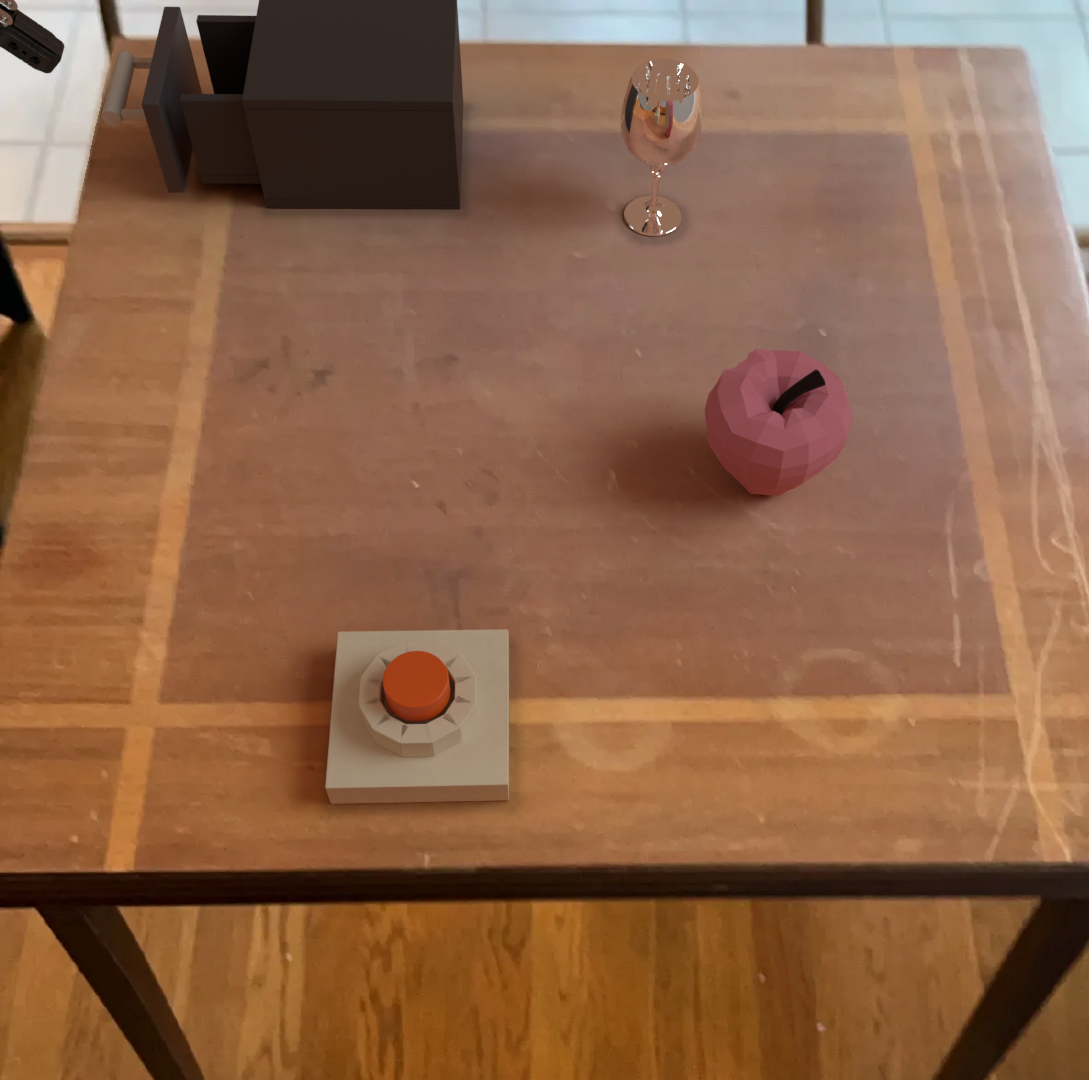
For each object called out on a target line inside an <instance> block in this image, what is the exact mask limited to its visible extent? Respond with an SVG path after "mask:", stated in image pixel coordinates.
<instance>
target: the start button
mask: <svg viewBox="0 0 1089 1080" xmlns="http://www.w3.org/2000/svg"><path fill="white" fill-rule="evenodd" d="M383 688H384V692H385V697H386V701H387V704H388V706H389V708H390V709H391V711H392V712H393V713H394V714H395V715H397V716H398V717H400V718H402V719H404V720H407V721H412V722H420V721H426V720H429V719H431V718H433V717H435V716H437V715H438V714H439V713H441V712H442V711H443V709H444V708H445V707H446V705H447V704H448V701H449V698H450V683H449V675H448V671H447V668H446V666H445V664H444V663H443V662H442V661H441V660H440V659H439V658H438V657H437V656H435V655H433V654H431V653H428V652H424V651H410V652H406V653H404V654H401V655H399V656H398V657H396V658H395V659H393V660H392V661H391V662H390V664H389V665H388V666H387V668H386V670H385V672H384V675H383Z"/></svg>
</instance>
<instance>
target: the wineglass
mask: <svg viewBox="0 0 1089 1080" xmlns="http://www.w3.org/2000/svg"><path fill="white" fill-rule="evenodd" d="M702 126H703V101H702V92H701V86H700V81H699V77H698V74H697V73H696V71H695V70H694V69H693V68H692V67H690V66H689V65H687V64H686V63H683V62H681V61H679V60H676V59H675V60H674V59H671V58H655V59H650V60H647V61H644V62H642V63H640V64H639V65H638V66H636V67H635V68H634V70H633V71H632V73H631V77H630V79H629V82H628V84H627V88H626V91H625V94H624V98H623V103H622V107H621V113H620V130H621V137H622V140H623V143H624V145H625V147H626V148H627V150H628V152H630V154H631V155H632V156H633V157H634V158H636V159H637V160H639V161H640V162H641V163H645V164H647V165H650V166H649V168H650V174H651V179H652V181H651V182H652V186H651V187H652V189H651V195H650V194H649V195H642V196H638V197H636V198H634V199H632V200H631V201H630V202H628V204H627V205H626V206H625V208H624V210H623V218H624V219H623V220H624V221H625V223H626V225H627V226H628V227H629V228H630V229H631V230H632V231H634V232H636V233H638V234H640V235H643V236H648V237H661V236H666V235H669V234H671V233H673V232H674V231H676V230H677V229H678V228H679V227H680V226H681V223H682V221H683V219H682V218H683V215H682V211H681V209H680V207H679V206H678V205H677V204H676V203H675V202H674V201H672V199H668V198H667V197H663V196H661V195H659V185H660V181H661V178H662V176H663V174H664V171H665V166H666V167H667V166H670V165H675V164H677V163H679V162H682V161H683V160H684V159H686V158H687V157H688V156H689V155H690V154H691V153H692V152H693V151H694V150H695V148H696V146H697V144H698V142H699V140H700V136H701V132H702Z"/></svg>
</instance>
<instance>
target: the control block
mask: <svg viewBox="0 0 1089 1080" xmlns="http://www.w3.org/2000/svg"><path fill="white" fill-rule="evenodd" d="M509 634H510V633H509V629H506V628H503V629H435V630H434V629H431V630H429V629H427V630H425V629H424V630H423V629H422V630H420V629H419V630H366V631H365V630H358V631H357V630H356V631H355V630H354V631H353V630H351V631H337V637H336V638H337V639H336V650H335V662H334V675H333V685H332V686H333V687H332V697H331V698H332V699H331V711H330V723H329V735H328V749H327V760H326V774H325V785H324V788H325V791H326V794H327V797H328V800H329V803H330V804H331V805H342V804H343V805H344V804H347V805H349V804H392V803H393V804H395V803H396V804H397V803H400V804H401V803H438V802H439V803H442V802H443V803H444V802H447V803H448V802H487V801H488V802H491V801H497V802H498V801H510V639H509V638H510V637H509ZM410 651H424V652H428V653H431V654H433V655H435V656H437V657H438V658H439V659H440V660H441V661H442V662H443V663H444V664H445V666H446V668H447V671H448V675H449V683H450V698H449V701H448V704H447V705H446V707H445V708H444V709H443V711H442V712H441V713H439V714H438V715H437V716H435V717H433V718H431V719H429V720H426V721H420V722H412V721H407V720H404V719H402V718H400V717H398V716H397V715H395V714H394V713H393V712H392V711H391V709H390V708H389V706H388V704H387V701H386V697H385V692H384V688H383V675H384V672H385V670H386V668H387V666H388V665H389V664H390V662H391V661H392V660H393V659H395V658H396V657H398V656H399V655H401V654H404V653H406V652H410Z"/></svg>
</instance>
